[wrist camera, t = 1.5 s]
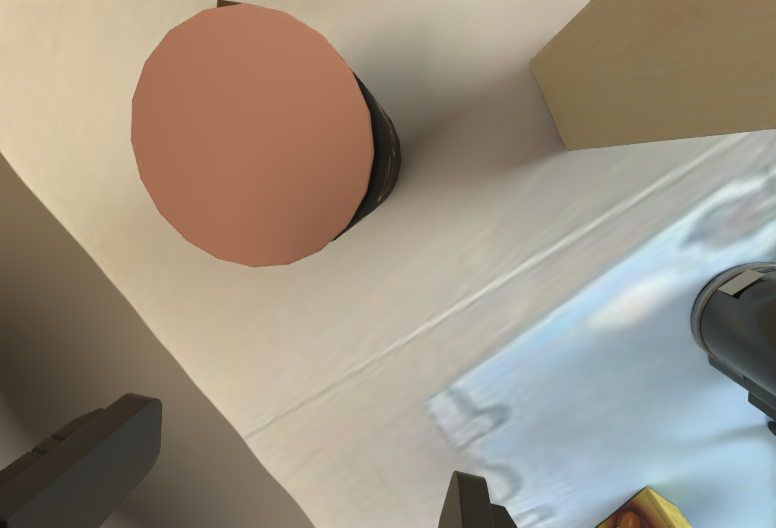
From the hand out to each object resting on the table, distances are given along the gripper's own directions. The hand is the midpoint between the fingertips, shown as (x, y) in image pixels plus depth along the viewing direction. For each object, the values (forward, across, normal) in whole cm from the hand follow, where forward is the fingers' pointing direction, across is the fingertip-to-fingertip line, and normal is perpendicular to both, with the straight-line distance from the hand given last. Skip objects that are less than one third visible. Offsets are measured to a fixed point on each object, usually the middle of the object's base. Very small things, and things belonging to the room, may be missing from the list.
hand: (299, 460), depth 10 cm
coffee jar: (+26, +6, -7) cm, 28 cm away
